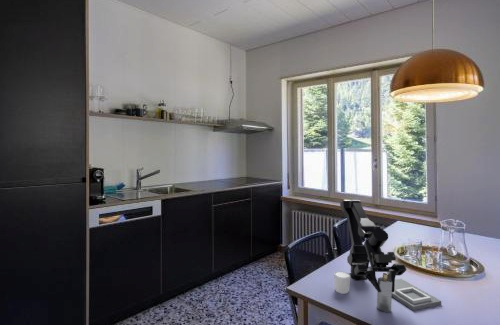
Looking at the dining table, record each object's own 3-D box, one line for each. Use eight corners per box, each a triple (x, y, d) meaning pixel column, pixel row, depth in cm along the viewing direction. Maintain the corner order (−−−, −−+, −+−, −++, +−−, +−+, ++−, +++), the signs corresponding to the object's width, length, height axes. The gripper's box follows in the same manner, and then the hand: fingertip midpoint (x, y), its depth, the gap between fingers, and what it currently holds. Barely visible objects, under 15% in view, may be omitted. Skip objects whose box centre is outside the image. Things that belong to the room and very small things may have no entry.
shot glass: (346, 286, 127) (347, 271, 127) (352, 294, 120) (353, 278, 120) (331, 286, 127) (331, 271, 126) (336, 294, 120) (337, 278, 120)
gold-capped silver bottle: (374, 305, 111) (375, 272, 110) (384, 303, 112) (385, 270, 112) (383, 312, 106) (384, 277, 105) (394, 310, 108) (395, 276, 107)
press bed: (375, 285, 127) (376, 280, 127) (400, 281, 132) (401, 276, 131) (413, 310, 108) (413, 303, 108) (441, 304, 112) (441, 298, 112)
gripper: (357, 243, 112) (368, 284, 101) (404, 243, 112) (420, 284, 101) (349, 255, 120) (359, 294, 110) (394, 255, 120) (407, 294, 110)
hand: (386, 292), depth 108 cm, fingers closed on gold-capped silver bottle, 5 cm apart
